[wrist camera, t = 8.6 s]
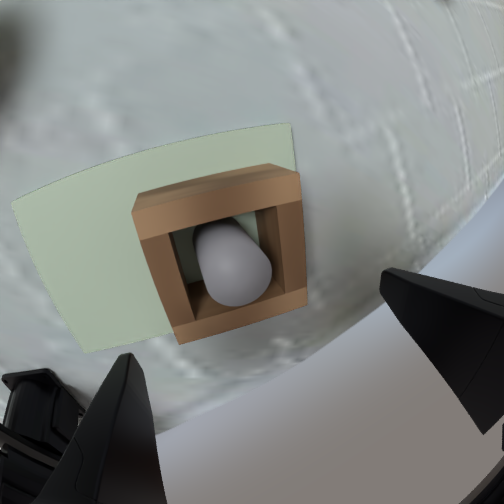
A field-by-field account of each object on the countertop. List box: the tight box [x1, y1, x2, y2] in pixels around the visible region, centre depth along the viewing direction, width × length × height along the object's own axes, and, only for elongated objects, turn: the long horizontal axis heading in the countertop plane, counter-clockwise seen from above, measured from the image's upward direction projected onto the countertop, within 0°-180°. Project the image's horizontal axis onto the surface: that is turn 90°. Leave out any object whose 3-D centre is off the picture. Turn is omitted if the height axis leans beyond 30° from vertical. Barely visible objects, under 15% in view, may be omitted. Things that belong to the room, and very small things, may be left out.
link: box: [131, 163, 307, 345], centre depth 14 cm, size 7×7×4 cm
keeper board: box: [11, 123, 296, 354], centre depth 13 cm, size 16×11×5 cm
